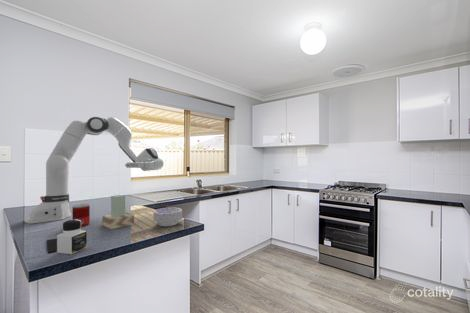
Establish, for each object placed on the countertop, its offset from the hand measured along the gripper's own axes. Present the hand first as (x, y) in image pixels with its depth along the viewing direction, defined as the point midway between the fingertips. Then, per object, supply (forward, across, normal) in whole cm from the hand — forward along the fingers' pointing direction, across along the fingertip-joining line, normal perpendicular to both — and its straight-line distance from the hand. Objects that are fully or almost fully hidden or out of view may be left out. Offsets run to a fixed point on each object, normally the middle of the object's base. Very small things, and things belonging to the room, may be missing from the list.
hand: (131, 165), depth 156 cm
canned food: (+30, -7, +32) cm, 44 cm away
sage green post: (+22, +12, +27) cm, 37 cm away
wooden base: (+22, +12, +32) cm, 41 cm away
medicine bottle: (+57, +24, +32) cm, 69 cm away
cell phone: (+54, +12, +33) cm, 64 cm away
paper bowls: (+13, +38, +32) cm, 51 cm away
